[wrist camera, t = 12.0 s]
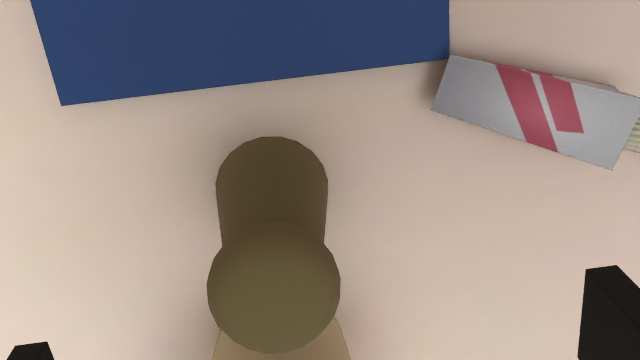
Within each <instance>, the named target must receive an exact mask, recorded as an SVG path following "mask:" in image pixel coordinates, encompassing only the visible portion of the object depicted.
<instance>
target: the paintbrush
mask: <svg viewBox="0 0 640 360" xmlns="http://www.w3.org/2000/svg"><path fill="white" fill-rule="evenodd" d="M431 110H433V111H436V112H439V113H442V114H445V115H448V116H451V117H454V118H457V119H460V120H463V121H466V122H469V123H472V124H475V125H477V126H480V127H483V128H486V129H489V130H492V131H495V132H498V133H501V134H504V135H507V136H510V137H513V138H516V139H519V140H522V141H525V142H528V143H531V144H534V145H537V146H540V147H543V148H546V149H549V150H552V151H555V152H558V153H561V154H564V155H567V156H570V157H573V158H576V159H579V160H582V161H584V162H587V163H590V164H593V165H596V166H599V167H602V168H605V169H608V170H611V171H612V169H613V167H614V165H615V163H616V161H617V159H618V157H619V155H620V153H621V151H622V149H627V150H631V151H636V152H640V116H639V115H640V98H639V97H636V96H633V95H630V94H626V93H623V92H620V91H619V90H617V89H616V88H615V87H614V86H609V85H603V84H598V83H593V82H588V81H583V80H578V79H573V78H568V77H563V76H558V75H552V74H547V73H542V72H537V71H532V70H527V69H522V68H517V67H512V66H507V65H501V64H496V63H491V62H486V61H481V60H476V59H471V58H466V57H461V56H456V55H450V57H449V60H448V62H447V65H446V68H445V71H444V74H443V77H442V79H441V82H440V85H439V88H438V91H437V94H436V96H435V99H434V102H433V105H432V108H431Z"/></svg>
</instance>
